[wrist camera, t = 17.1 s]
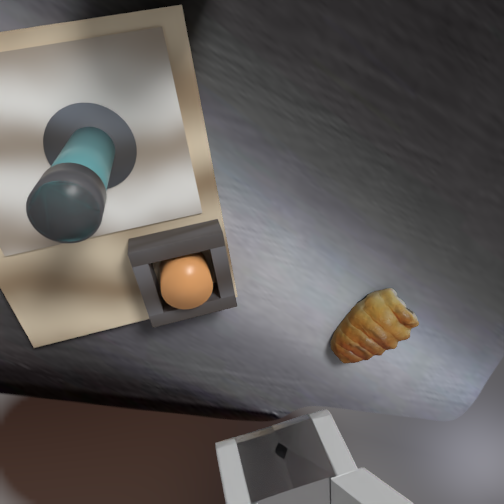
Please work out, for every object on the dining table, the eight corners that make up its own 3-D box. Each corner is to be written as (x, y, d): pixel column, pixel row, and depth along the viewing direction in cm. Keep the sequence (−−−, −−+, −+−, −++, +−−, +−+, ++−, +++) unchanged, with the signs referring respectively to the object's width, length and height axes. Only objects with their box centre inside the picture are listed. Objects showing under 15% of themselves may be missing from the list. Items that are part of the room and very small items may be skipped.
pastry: (349, 361, 47) (364, 386, 43) (314, 335, 43) (327, 360, 40) (412, 307, 45) (433, 329, 42) (380, 276, 42) (400, 297, 38)
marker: (59, 130, 27) (13, 186, 17) (108, 120, 27) (88, 171, 18) (76, 175, 28) (42, 250, 19) (122, 166, 29) (111, 235, 19)
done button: (154, 253, 33) (154, 273, 30) (202, 242, 33) (207, 260, 30) (166, 293, 35) (167, 314, 32) (211, 282, 35) (217, 302, 33)
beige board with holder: (-123, 51, 24) (-161, 54, 21) (180, 5, 26) (185, 2, 23) (36, 340, 35) (26, 368, 32) (235, 290, 38) (243, 313, 35)
